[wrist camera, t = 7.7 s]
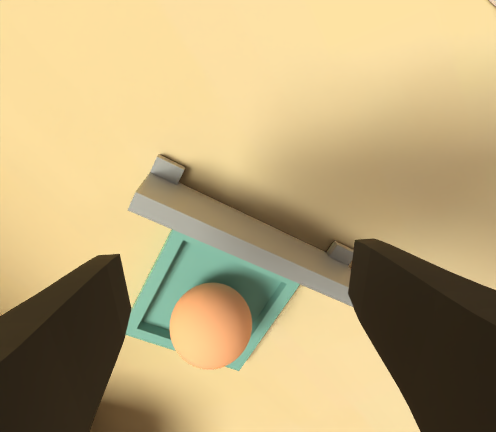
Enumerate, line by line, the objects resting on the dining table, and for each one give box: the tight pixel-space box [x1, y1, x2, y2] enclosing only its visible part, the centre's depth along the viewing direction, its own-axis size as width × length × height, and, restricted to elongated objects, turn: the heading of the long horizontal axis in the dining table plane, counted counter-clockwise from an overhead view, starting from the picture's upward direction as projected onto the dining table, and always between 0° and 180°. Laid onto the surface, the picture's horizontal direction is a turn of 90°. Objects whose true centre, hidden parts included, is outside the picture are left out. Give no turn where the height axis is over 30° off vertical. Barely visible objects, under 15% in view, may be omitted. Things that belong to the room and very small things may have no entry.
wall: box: [128, 155, 354, 307], centre depth 18 cm, size 14×3×4 cm, turn 61°
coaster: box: [126, 229, 300, 371], centre depth 21 cm, size 9×9×1 cm
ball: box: [170, 283, 252, 369], centre depth 19 cm, size 5×5×5 cm
